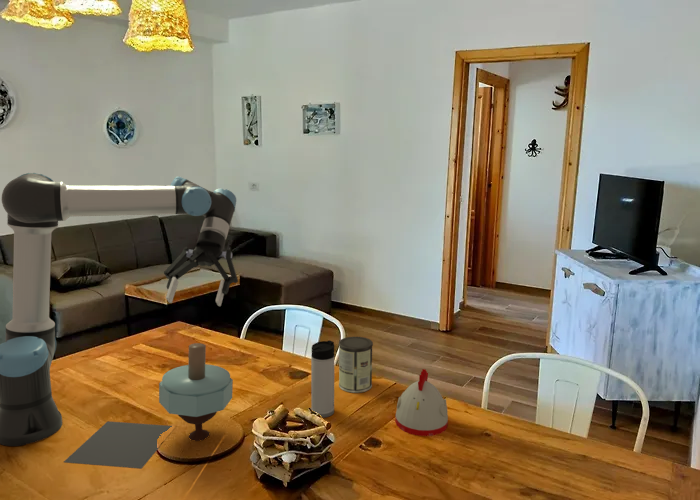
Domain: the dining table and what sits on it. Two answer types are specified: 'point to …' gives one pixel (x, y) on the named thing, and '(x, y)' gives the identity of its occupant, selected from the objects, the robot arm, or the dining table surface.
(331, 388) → the travel mug
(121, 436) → the mat
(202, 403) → the lid
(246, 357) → the dining table surface
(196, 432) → the ice cream bowl
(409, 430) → the kitchen timer
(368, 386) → the coffee can
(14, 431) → the robot arm
